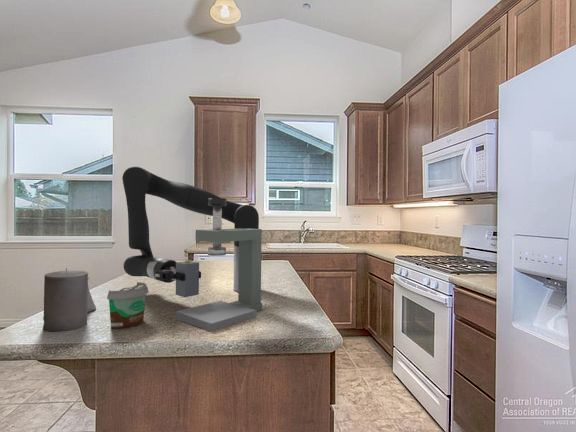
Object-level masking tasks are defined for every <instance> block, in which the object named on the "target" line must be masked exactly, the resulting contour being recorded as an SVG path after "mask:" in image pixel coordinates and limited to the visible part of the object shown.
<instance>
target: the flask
mask: <svg viewBox="0 0 576 432" xmlns="http://www.w3.org/2000/svg"><path fill="white" fill-rule="evenodd" d="M89 279H90V277H89V276H88V280H89ZM95 310H97V306H96V304H95V301H94V299H93V296H92V293H91V292H90V287H89V286H88V294H87V313H88V312H89V313H90V312H92V311H95Z"/></svg>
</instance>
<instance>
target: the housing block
mask: <svg viewBox="0 0 576 432" xmlns="http://www.w3.org/2000/svg"><path fill="white" fill-rule="evenodd" d="M199 271H200V262H198V261H193V260H191V259H185V260H184V261H179V262H178V261H176V272H179V273H184V274H185V275H186V280H185V281H180V280H175V296H179V297H182V298H188V297H193V296H199V295H200V278H199Z"/></svg>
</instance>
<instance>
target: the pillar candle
mask: <svg viewBox="0 0 576 432" xmlns="http://www.w3.org/2000/svg"><path fill="white" fill-rule="evenodd" d="M88 277H89V272H88V271H85V270H68V268H65V270H60V271H52V272H47V273H45V274H44V277H43V278H44V284H43V326H42V329H43V330H44V331H46V332H65V331H71V330H75V329H78V328H82V327H84V326H86V325H87V322H88V312H87V294H88V287H89V279H88Z"/></svg>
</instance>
